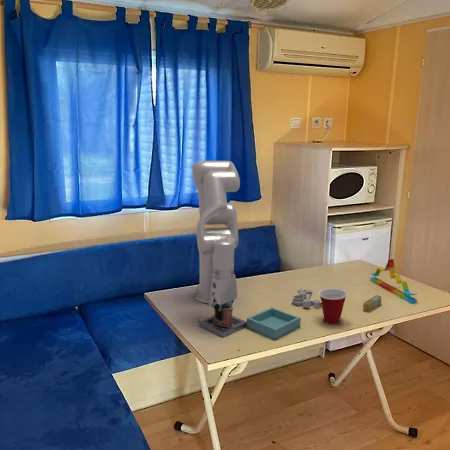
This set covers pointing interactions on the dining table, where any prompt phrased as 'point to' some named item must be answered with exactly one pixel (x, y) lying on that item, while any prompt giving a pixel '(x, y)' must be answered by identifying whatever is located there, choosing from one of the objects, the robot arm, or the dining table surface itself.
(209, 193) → the robot arm
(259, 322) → the tray
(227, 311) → the lighter
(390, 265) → the rainbow zigzag toy
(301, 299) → the pulley system
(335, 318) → the plastic cup
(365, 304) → the medication box
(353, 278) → the dining table surface
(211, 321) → the gray square frame
